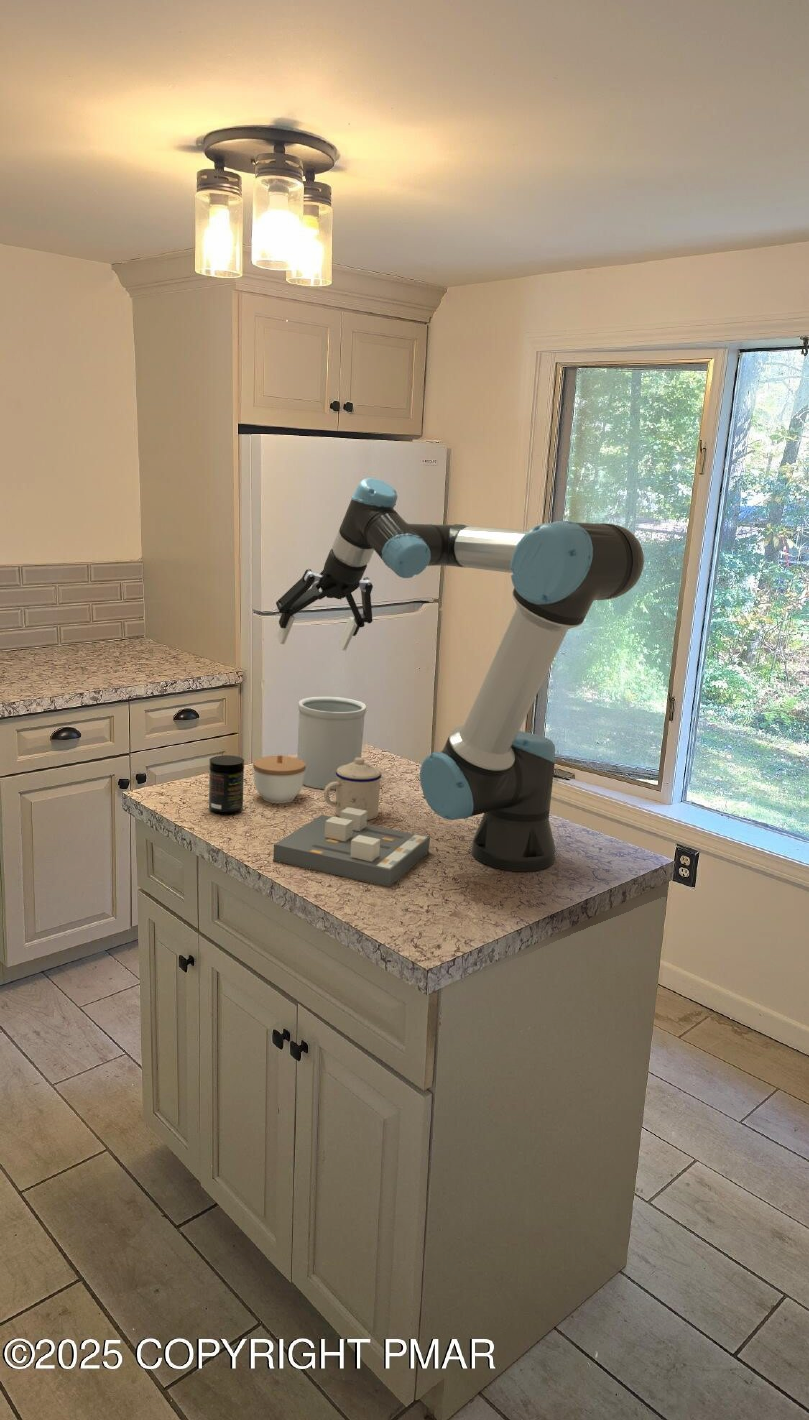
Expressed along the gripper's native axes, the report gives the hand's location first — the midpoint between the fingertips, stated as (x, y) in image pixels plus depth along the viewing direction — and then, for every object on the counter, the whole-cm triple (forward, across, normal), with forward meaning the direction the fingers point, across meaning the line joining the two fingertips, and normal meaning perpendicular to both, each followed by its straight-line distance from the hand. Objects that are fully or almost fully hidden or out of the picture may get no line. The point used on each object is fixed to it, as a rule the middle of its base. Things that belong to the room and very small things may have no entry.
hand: (311, 643), depth 196 cm
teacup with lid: (+22, -8, +27) cm, 35 cm away
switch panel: (+13, +1, +44) cm, 46 cm away
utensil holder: (+32, -14, +7) cm, 36 cm away
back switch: (+13, -2, +37) cm, 40 cm away
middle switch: (+12, +3, +41) cm, 43 cm away
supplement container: (+29, +14, +19) cm, 38 cm away
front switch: (+7, +3, +50) cm, 50 cm away
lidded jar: (+30, +1, +15) cm, 33 cm away
